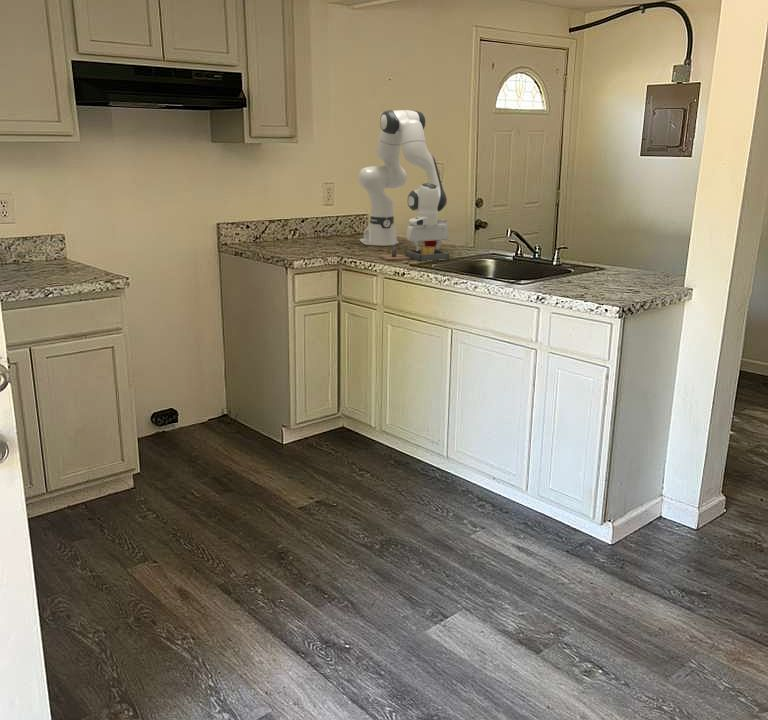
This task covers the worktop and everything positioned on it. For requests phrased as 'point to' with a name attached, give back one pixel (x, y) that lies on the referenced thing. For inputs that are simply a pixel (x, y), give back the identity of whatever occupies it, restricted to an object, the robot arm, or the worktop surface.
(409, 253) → the tray
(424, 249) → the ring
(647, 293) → the worktop surface
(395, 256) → the wooden peg stand
